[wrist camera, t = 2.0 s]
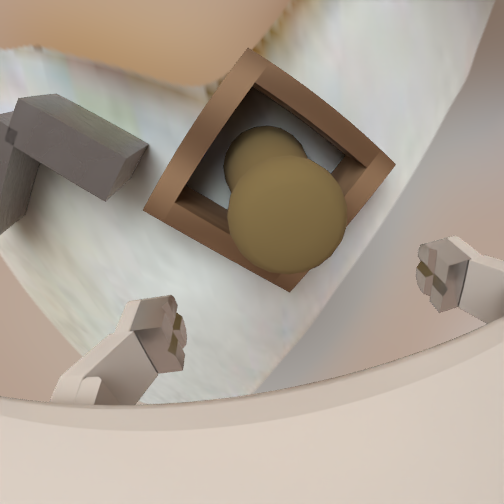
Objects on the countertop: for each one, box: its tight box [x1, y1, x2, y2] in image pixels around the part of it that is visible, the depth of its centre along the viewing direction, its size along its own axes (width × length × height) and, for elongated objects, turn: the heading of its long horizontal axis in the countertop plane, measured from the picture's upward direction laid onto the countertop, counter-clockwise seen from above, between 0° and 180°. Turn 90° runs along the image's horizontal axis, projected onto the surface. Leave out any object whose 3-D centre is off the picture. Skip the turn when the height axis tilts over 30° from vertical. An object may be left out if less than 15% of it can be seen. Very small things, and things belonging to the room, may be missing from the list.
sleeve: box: [143, 48, 396, 292], centre depth 20 cm, size 12×12×4 cm
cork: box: [223, 126, 347, 274], centre depth 16 cm, size 6×6×11 cm
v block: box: [0, 94, 148, 235], centre depth 17 cm, size 8×16×5 cm, turn 100°
